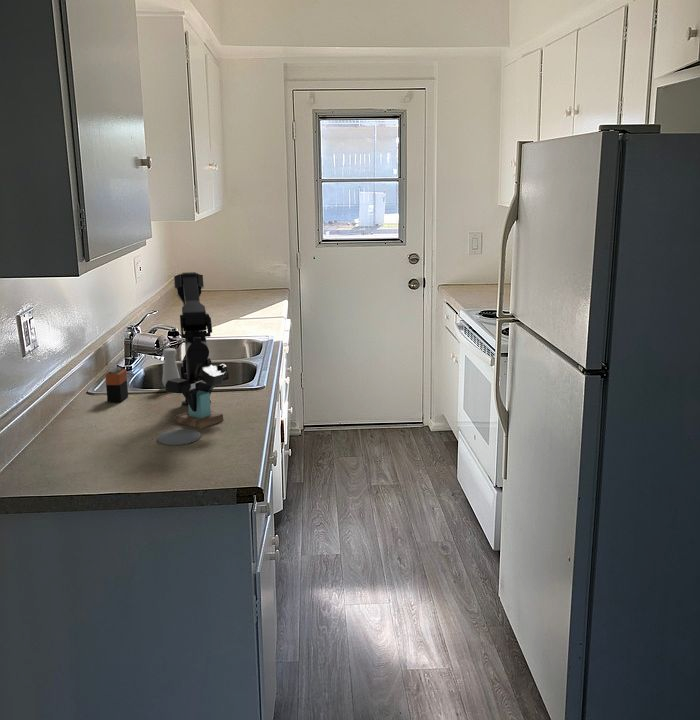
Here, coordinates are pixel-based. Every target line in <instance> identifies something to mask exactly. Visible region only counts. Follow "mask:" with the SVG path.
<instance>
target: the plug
mask: <svg viewBox="0 0 700 720" xmlns="http://www.w3.org/2000/svg"><path fill="white" fill-rule="evenodd" d="M210 400H211V394H210V393H209V392H205V391H200V390H199V391H198V392H197V394H196V403H197V408H196V412H194V411H192V409H191V407H190V405H189V404H188V405H187V406H188V411H189V416H192V417H196V418H204V417H207V416H210V415H211V411H212V410H211V402H210Z"/></svg>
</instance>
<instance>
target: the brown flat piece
mask: <svg viewBox="0 0 700 720" xmlns="http://www.w3.org/2000/svg"><path fill="white" fill-rule="evenodd" d="M220 421H221V422H223V421H224V414H223V413H220V412H217V411H212V410H211V415H210V416H207V417H204V418H196V417H192V416H189V410H188V411H184V412H182V413H179V414H176V415H175V423H178V424H181V425H185V426H188V425H189V427H192V426H193V427H192V428H196V427H198V428H197V429H200V428H201V429H203V427H204V428H207V427H210V426H212V425H215V424H217V423H221V422H220ZM209 425H210V426H209ZM206 426H207V427H206Z"/></svg>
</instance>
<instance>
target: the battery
mask: <svg viewBox="0 0 700 720" xmlns="http://www.w3.org/2000/svg"><path fill="white" fill-rule="evenodd" d="M127 375H128V374H127V369H125V368H121V366H117V367H115V368H112V369H110V370H109V371H108V372H107V373H105V375H104V376H105V386H106V399H107V403H113V404H114V403H115V404H116V403H119V404H120V403H122V402H123V401H125V400H126V399H127V398H128V397H129V389H128V376H127Z"/></svg>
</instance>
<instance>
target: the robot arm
mask: <svg viewBox="0 0 700 720" xmlns="http://www.w3.org/2000/svg"><path fill="white" fill-rule="evenodd" d="M173 285H174V290H176V292H177V295H176V296H177V297H178V298H179V300H180V302H181V303H182V307H181V314H179V323H180V325H179V326H180V336H181V339H184V346H185V354H184V356H183V358H182V361H181V365H180V366H179V368H180V369H179V372H180V373H179V376H180V378H175V379H171V380H168V381H167V382H166V388H165V391H166V392H171V393H176V394H181V395H183V397H184V398H185V400H184V401H181V405H187V406H188V404H189V405H190V407H191V409H192V411H194V412H196V408H197V403H196V394H197V392H198V391H199V390H200V391H205V392H209V393H210V395H211V394H212V391H213V389H214V388H216V386H218V385H221V384H223V381H227V380H229V379H230V376H229V372H228V366H227V365H226V364H225V363H221V364H218V365H213V364H212V360H211V358H209V355H210V349H209V346H208V344H207V338H209V337H210V338H211V333H213V325H212V318H211V316H210V314H209V313H207V311H206V306H205V305H204V304H203V303H201V301H200V297H201V295H202V289H204V285H205V284H204V275H203V274H199V273H198V272H194V271H191V272H182V273H178V274H177V275H174V276H173ZM210 403H212V400H211V399H210Z"/></svg>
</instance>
